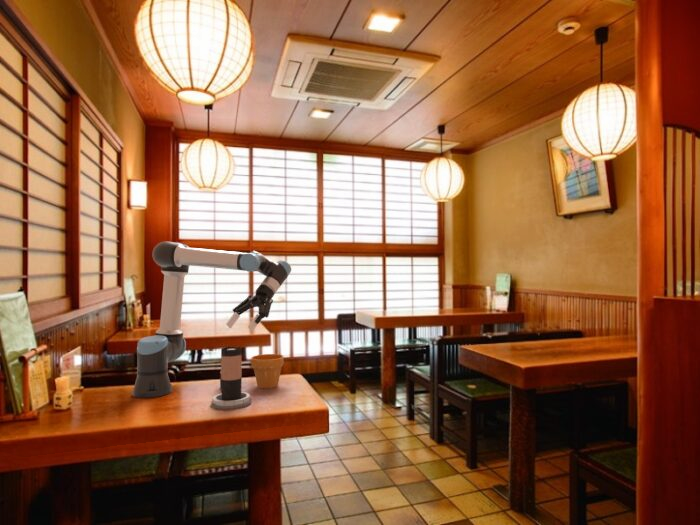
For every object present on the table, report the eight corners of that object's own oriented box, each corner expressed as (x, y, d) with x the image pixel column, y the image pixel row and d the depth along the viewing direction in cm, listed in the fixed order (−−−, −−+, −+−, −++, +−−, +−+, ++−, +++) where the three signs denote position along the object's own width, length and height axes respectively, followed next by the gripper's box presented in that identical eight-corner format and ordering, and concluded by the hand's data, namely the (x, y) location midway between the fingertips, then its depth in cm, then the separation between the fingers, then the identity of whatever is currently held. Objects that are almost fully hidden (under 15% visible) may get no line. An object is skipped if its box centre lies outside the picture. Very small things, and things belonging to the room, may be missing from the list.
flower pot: (246, 385, 192) (245, 356, 192) (274, 380, 201) (274, 352, 201) (259, 392, 181) (259, 361, 181) (289, 386, 189) (289, 357, 190)
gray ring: (202, 407, 161) (202, 399, 161) (227, 396, 175) (227, 389, 175) (235, 411, 155) (235, 403, 156) (259, 400, 169) (259, 393, 170)
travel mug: (223, 404, 160) (223, 350, 161) (219, 399, 167) (219, 347, 167) (243, 401, 164) (243, 348, 164) (239, 396, 170) (239, 346, 171)
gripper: (292, 296, 182) (264, 336, 169) (252, 294, 197) (225, 330, 184) (283, 284, 178) (254, 323, 165) (243, 282, 193) (214, 319, 180)
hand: (238, 327), depth 175 cm, fingers open, 13 cm apart
